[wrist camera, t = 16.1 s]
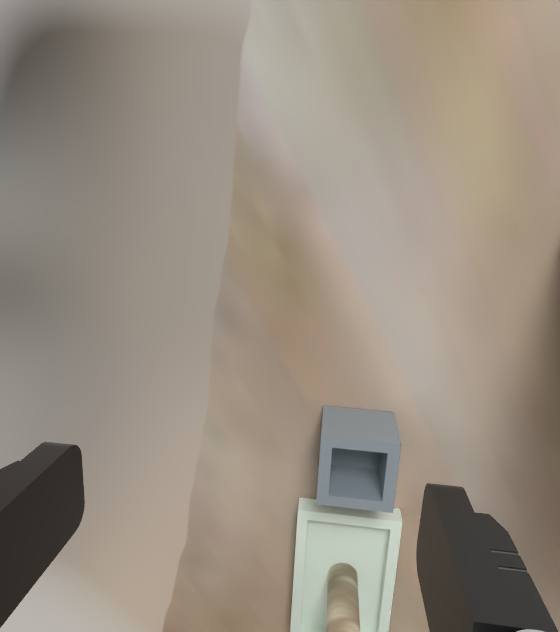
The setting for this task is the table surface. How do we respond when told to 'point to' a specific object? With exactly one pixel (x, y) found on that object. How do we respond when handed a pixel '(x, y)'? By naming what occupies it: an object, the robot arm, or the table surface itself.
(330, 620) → the dowel
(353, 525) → the sage tray
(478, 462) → the table surface
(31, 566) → the robot arm
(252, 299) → the table surface
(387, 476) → the slate box
